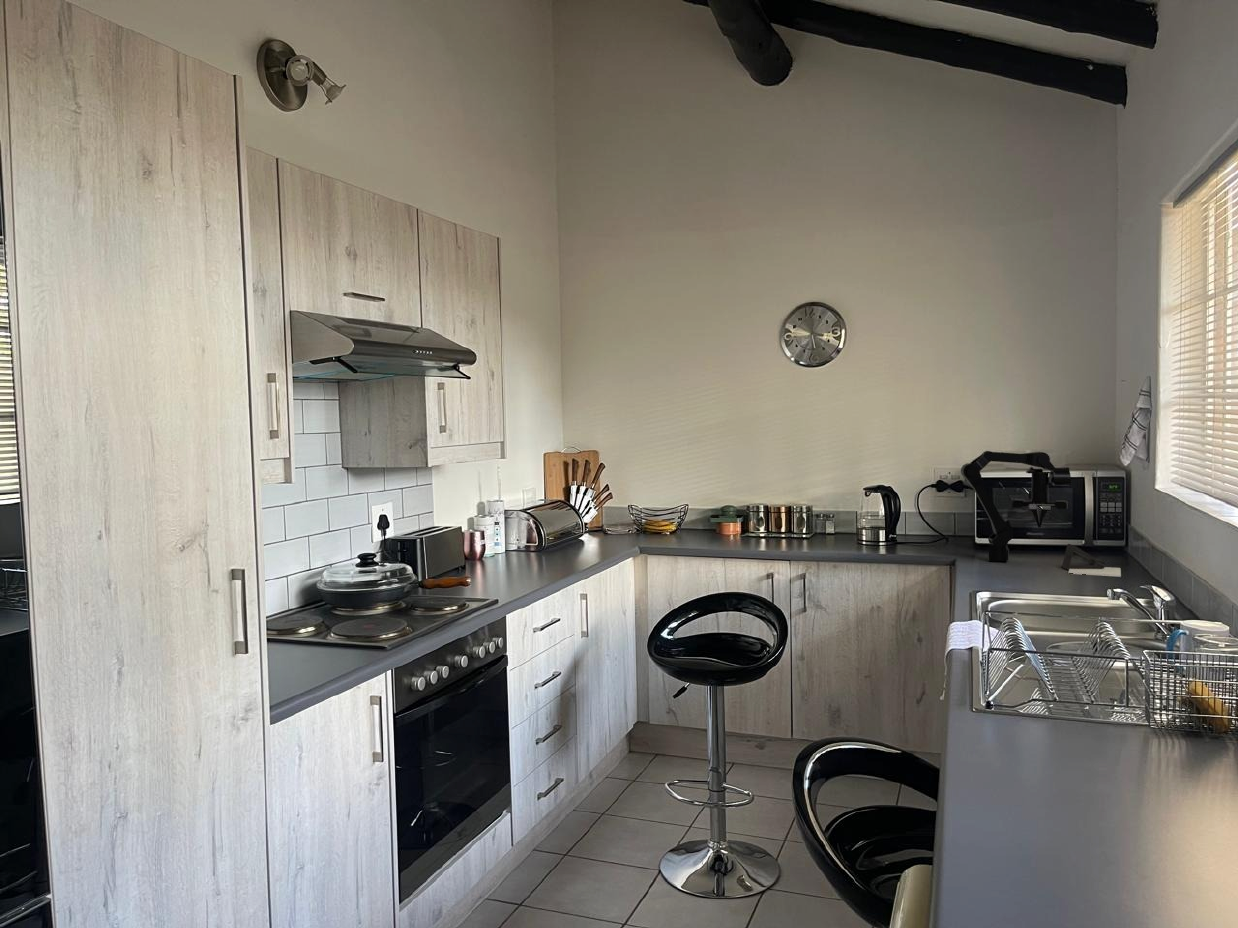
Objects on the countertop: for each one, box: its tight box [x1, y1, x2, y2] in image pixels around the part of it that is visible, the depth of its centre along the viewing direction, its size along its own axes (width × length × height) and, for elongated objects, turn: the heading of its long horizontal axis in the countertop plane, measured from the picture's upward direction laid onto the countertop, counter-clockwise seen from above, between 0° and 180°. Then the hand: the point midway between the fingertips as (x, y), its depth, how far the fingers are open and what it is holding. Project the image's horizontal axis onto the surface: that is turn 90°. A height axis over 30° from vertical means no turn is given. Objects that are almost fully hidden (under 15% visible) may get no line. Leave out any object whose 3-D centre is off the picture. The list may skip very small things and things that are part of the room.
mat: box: [1068, 566, 1122, 578], centre depth 340 cm, size 16×18×1 cm
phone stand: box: [1061, 543, 1106, 571], centre depth 346 cm, size 9×6×12 cm
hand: (1039, 527), depth 365 cm, fingers closed
